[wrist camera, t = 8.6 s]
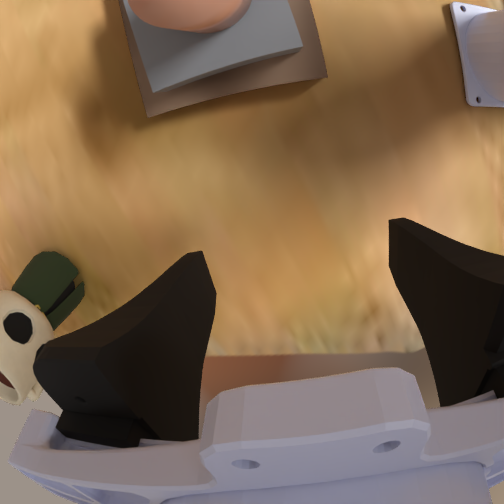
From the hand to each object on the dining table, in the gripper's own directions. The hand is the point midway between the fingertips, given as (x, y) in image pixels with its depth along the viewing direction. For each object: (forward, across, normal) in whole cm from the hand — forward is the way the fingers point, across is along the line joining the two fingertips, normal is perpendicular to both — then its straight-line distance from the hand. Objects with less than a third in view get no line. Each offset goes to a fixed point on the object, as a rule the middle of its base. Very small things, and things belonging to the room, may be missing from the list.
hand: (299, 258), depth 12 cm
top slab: (+9, +2, -12) cm, 15 cm away
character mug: (+11, +22, +4) cm, 25 cm away
